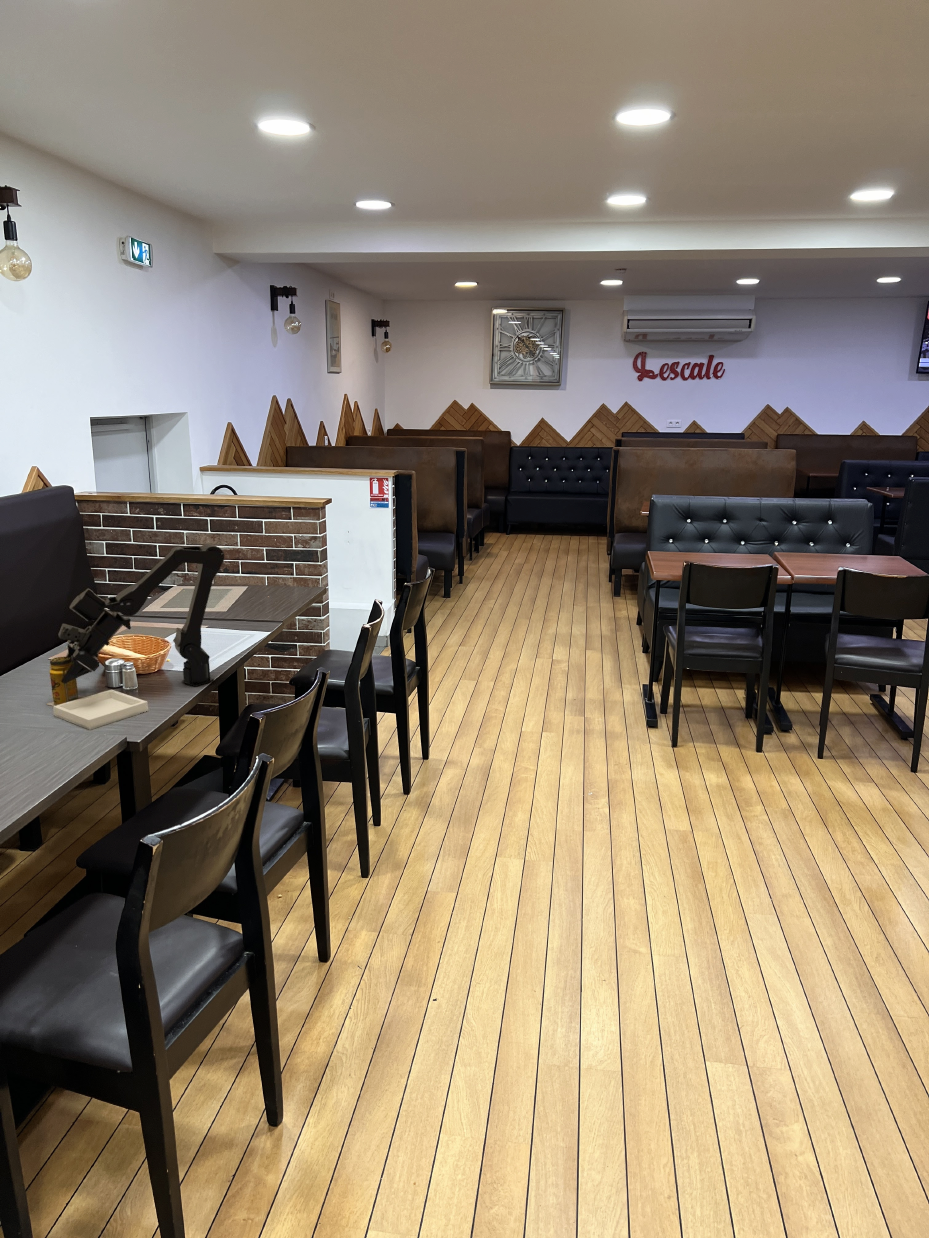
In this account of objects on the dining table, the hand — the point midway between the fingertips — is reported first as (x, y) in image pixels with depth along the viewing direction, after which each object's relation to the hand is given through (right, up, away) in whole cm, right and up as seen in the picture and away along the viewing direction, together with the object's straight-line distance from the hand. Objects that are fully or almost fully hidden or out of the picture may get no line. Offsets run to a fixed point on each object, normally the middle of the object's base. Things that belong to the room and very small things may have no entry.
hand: (61, 677), depth 222 cm
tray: (+13, -9, -6) cm, 17 cm away
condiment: (+1, -7, +2) cm, 7 cm away
